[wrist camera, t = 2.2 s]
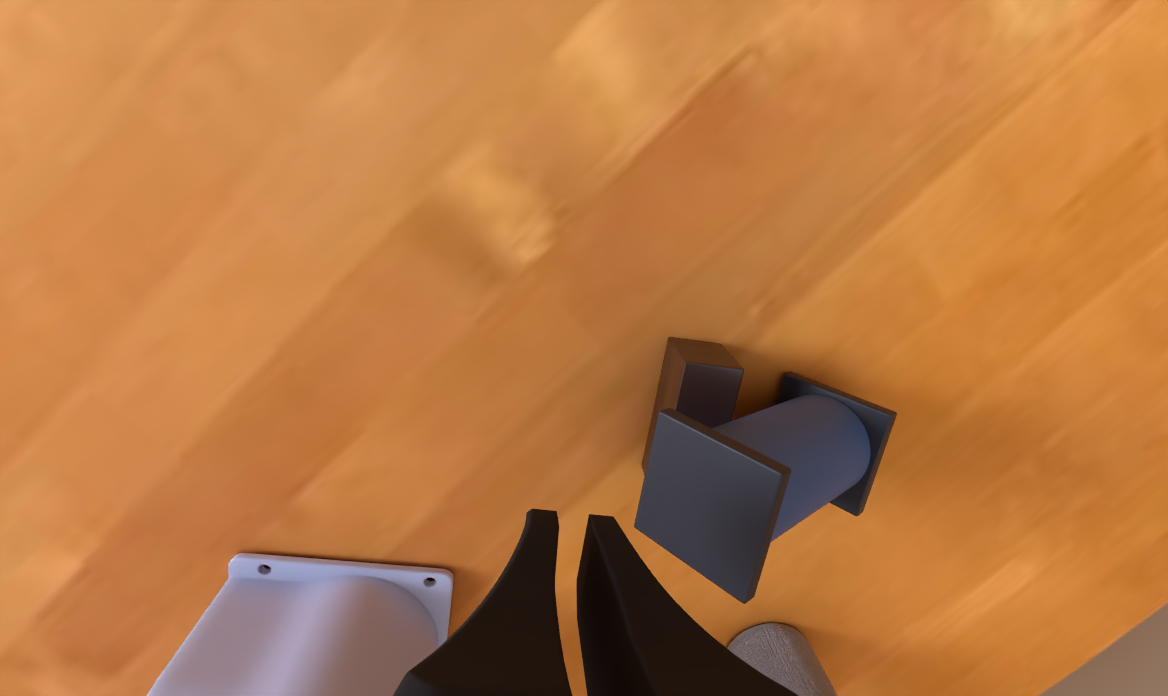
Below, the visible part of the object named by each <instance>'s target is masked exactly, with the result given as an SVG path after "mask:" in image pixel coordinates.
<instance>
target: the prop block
mask: <svg viewBox="0 0 1168 696" xmlns="http://www.w3.org/2000/svg"><path fill="white" fill-rule="evenodd" d="M743 372H744V369H743V368H742V367H741V366H740V364H739V363H738V362H737V361H736V360H735V359H734V358H733V357H732V356H731V355H730V354H729V352H728V351H727V350H726V349H725V348H724V347H723V346H722V345H721V344H717V343H710V342H702V341H695V340H687V339H679V338H672V337H669V338H668V343H667V348H666V352H665V357H664V362H663V367H662V371H661V376H660V381H659V386H658V390H657V395H656V400H655V405H654V409H653V414H652V419H651V424H650V428H649V433H648V438H647V443H646V447H645V452H644V457H643V461H642V469H643V472H644V475H645V473H646V468H647V463H648V459H649V454H650V449H651V445H652V440H653V435H654V431H655V426H656V421H657V417H658V412H659V411H660V410H663V409H667V408H671V409H673V410H675V411H677V412H679V413H681V414H683V415H685V416H687V417H689V418H691V419H693V420H695V421H697V422H699V423H701V424H703V425H705V426H707V427H709V428H714V427H717V426H720V425H722V424H725V423H728V422H731V419H732V415H733V411H734V407H735V403H736V399H737V396H738V392H739V388H740V384H741V380H742V376H743Z"/></svg>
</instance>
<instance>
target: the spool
mask: <svg viewBox="0 0 1168 696" xmlns="http://www.w3.org/2000/svg"><path fill="white" fill-rule="evenodd" d="M896 415H897V413H896V412H894V411H891V410H889V409H886V408H884V407H881V406H879V405H876V404H873V403H871V402H868V401H866V400H863V399H860V398H858V397H855V396H853V395H850V394H847V393H845V392H842V391H840V390H837V389H834V388H832V387H829V386H827V385H824V384H822V383H819V382H816V381H814V380H811V379H809V378H806V377H803V376H801V375H798V374H796V373H793V372H789V373H785V375H784V378H783V382H782V385H781V389H780V392H779V396H778V400H777V403H776V405H775V406H772V407H769V408H766V409H764V410H761V411H758V412H755V413H753V414H750V415H747V416H744V417H742V418H739V419H736V420H733V421H731V422H728V423H725V424H722V425H720V426H717V427H714V428H709V427H707V426H705V425H703V424H701V423H699V422H697V421H695V420H693V419H691V418H689V417H687V416H685V415H683V414H681V413H679V412H677V411H675V410H673V409H671V408H667V409H663V410H660V411H659V412H658V417H657V421H656V426H655V431H654V435H653V440H652V445H651V449H650V454H649V459H648V463H647V468H646V473H645V477H644V482H643V487H642V491H641V496H640V501H639V506H638V510H637V515H636V520H635V524H634V527H635V528H636V529H637V530H639V531H640V532H642V533H643V534H645V535H646V536H647V537H649V538H650V539H652V540H653V541H655V542H656V543H657V544H659V545H660V546H662V547H663V548H665V549H666V550H667V551H669V552H670V553H672V554H673V555H675V556H676V557H677V558H679V559H680V560H682V561H683V562H685V563H686V564H687V565H689V566H690V567H692V568H693V569H695V570H696V571H697V572H699V573H700V574H702V575H703V576H705V577H706V578H707V579H709V580H710V581H712V582H713V583H715V584H716V585H717V586H719V587H720V588H722V589H723V590H725V591H726V592H727V593H729V594H730V595H732V596H733V597H735V598H736V599H737V600H739V601H740V602H742V603H744V604H745V603H747V602H748V601H749V600H750V599H752V598H753V597H754V595H755V592H756V589H757V585H758V582H759V579H760V575H761V572H762V569H763V565H764V562H765V558H766V555H767V552H768V548H769V545H770V542H771V541H773V540H774V539H776V538H777V537H779V536H780V535H782V534H783V533H785V532H786V531H788V530H789V529H791V528H792V527H794V526H795V525H796V524H798V523H799V522H801V521H802V520H804V519H805V518H807V517H808V516H810V515H811V514H813V513H814V512H816V511H817V510H818V509H820V508H821V507H823V506H824V505H826V504H827V503H829V502H830V503H832V504H833V505H835V506H837V507H839V508H841V509H843V510H845V511H847V512H849V513H851V514H853V515H855V516H858V515H860V514H861V513H862V512H863V510H864V507H865V504H866V501H867V498H868V496H869V493H870V490H871V487H872V484H873V481H874V478H875V475H876V473H877V470H878V467H879V464H880V461H881V458H882V455H883V453H884V450H885V447H886V444H887V441H888V438H889V435H890V432H891V430H892V427H893V424H894V421H895V418H896Z"/></svg>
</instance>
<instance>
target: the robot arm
mask: <svg viewBox="0 0 1168 696" xmlns="http://www.w3.org/2000/svg"><path fill="white" fill-rule="evenodd" d="M558 534H559V523H558V517H557V512H556V511H550V510H539V509H531V510H530V511H528V512H527V515H526V522H525V527H524V530H523V533H522V535H521V538H520V540H519V542H518V544H517V546H516V549H515V551H514V553H513V555H512V557H511V559H510V560H509V562H508V564H507V566H506V567H505V569H504V571H503V572H502V574H501V576H500V577H499V579H498V580H497V582H496V583H495V585H494V586H493V588H492V589H491V591H490V592H489V593H488V595H487V596H486V597H485V599H484V600H483V601H482V603H481V604H480V605H479V606H478V608H477V609H476V610H475V611H474V612H473V613H472V615H471V616H470V617H469V618H468V619H467V620H466V621H465V623H464V624H463V625H462V626H461V627H460V628H459V629H458V630H457V631H456V632H455V633H454V634H453V635H451V636H450V637H449V638H448V639H447V636H448V627H449V618H450V609H451V599H452V590H453V581H454V577H453V574H452V573H451V572H450V571H449V570H447V569H441V568H428V567H415V566H403V565H390V564H378V563H365V562H353V561H340V560H327V559H315V558H302V557H290V556H277V555H265V554H252V553H239V554H236V555H235V556H234V557H233V558H232V560H231V561H230V562H229V579H228V580H227V581H226V583H225V584H224V586H223V587H222V588H221V590H220V591H219V593H218V594H217V596H216V597H215V598H214V600H213V601H212V603H211V604H210V605H209V607H208V608H207V610H206V611H205V612H204V614H203V615H202V617H201V618H200V619H199V621H198V622H197V624H196V625H195V627H194V628H193V629H192V631H191V632H190V634H189V635H188V636H187V638H186V639H185V641H184V642H183V643H182V645H181V646H180V648H179V649H178V651H177V652H176V653H175V655H174V656H173V658H172V659H171V660H170V662H169V663H168V665H167V666H166V667H165V669H164V670H163V672H162V673H161V674H160V676H159V677H158V679H157V680H156V682H155V683H154V685H153V686H152V688H151V689H150V691H149V692H148V694H147V696H572V693H571V689H570V686H569V681H568V677H567V672H566V668H565V663H564V658H563V652H562V646H561V640H560V633H559V625H558V616H557V607H556V596H555V570H556V558H557V546H558ZM263 565H268V566H269V567H270V569H268V568H265V567H264V566H263ZM430 577H431V578H434V579H435V580H434V581H429V580H427V579H426V578H430ZM577 621H578V629H579V637H580V644H581V652H582V659H583V666H584V673H585V680H586V688H587V695H588V696H799V695H797V694H796V693H794V692H792V691H791V690H789V689H787V688H786V687H784V686H782V685H781V684H779V683H777V682H775V681H774V680H772V679H770V678H769V677H767V676H765V675H764V674H762V673H761V672H759V671H757V670H756V669H755V668H753V667H752V666H750V665H749V664H747V663H746V662H745V661H743V660H742V659H740V658H739V657H737V656H736V655H735V654H733V653H732V652H731V651H729V650H728V649H727V648H726V647H724V646H723V645H722V644H721V643H719V642H718V641H717V640H716V639H715V638H713V637H712V636H711V635H710V634H709V633H707V632H706V631H705V630H704V629H703V628H702V627H701V626H700V625H698V624H697V623H696V622H695V621H694V620H693V619H692V618H691V617H690V616H689V615H688V614H687V613H686V612H685V611H684V610H683V609H682V608H681V607H680V606H679V605H678V604H677V603H676V602H675V601H674V599H673V598H672V597H671V596H670V595H669V594H668V593H667V591H666V590H665V589H664V588H663V587H662V586H661V584H660V583H659V582H658V581H657V579H656V578H655V577H654V575H653V574H652V573H651V571H650V570H649V569H648V567H647V566H646V565H645V563H644V562H643V561H642V559H641V558H640V556H639V555H638V553H637V552H636V551H635V549H634V548H633V546H632V545H631V543H630V542H629V540H628V538H627V537H626V535H625V534H624V532H623V531H622V529H621V528H620V526H619V524H618V523H617V521H616V520H615V519H614V517H612V516H602V515H591V514H589V518H588V523H587V528H586V534H585V539H584V544H583V550H582V555H581V560H580V566H579V571H578V576H577Z"/></svg>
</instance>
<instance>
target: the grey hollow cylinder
mask: <svg viewBox="0 0 1168 696" xmlns="http://www.w3.org/2000/svg"><path fill="white" fill-rule="evenodd" d="M727 649H728V650H729V651H731V652H732V653H733V654H735V655H736V656H737V657H739V658H740V659H742V660H743V661H745V662H746V663H747V664H749V665H750V666H752V667H753V668H755V669H756V670H757V671H759V672H761V673H762V674H764V675H765V676H767V677H769V678H770V679H772V680H774V681H775V682H777V683H779V684H781V685H782V686H784V687H786V688H787V689H789V690H791V691H792V692H794V693H796V694H797V695H799V696H838V695H837V693H836V692H835V690H834V688H833V686H832V684H831V682H830V681H829V679H828V677H827V675H826V673H825V671H824V670H823V668H822V666H821V664H820V662H819V660H818V659H817V657H816V655H815V653H814V651H813V649H812V648H811V646H810V644H809V643H808V641H807V640H806V638H805V637H804V635H803V634H802V633H801V632H800V631H798V630H797V629H795V628H793V627H791V626H788V625H785V624H780V623H766V624H761V625H757V626H754V627H751V628H749V629H747V630H745V631H744V632H742V633H741V634H739V635H738V636H737V637H736V638H735V639H734V640H733V641H732V642H731V643H730V644H729V646H728V647H727Z"/></svg>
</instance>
